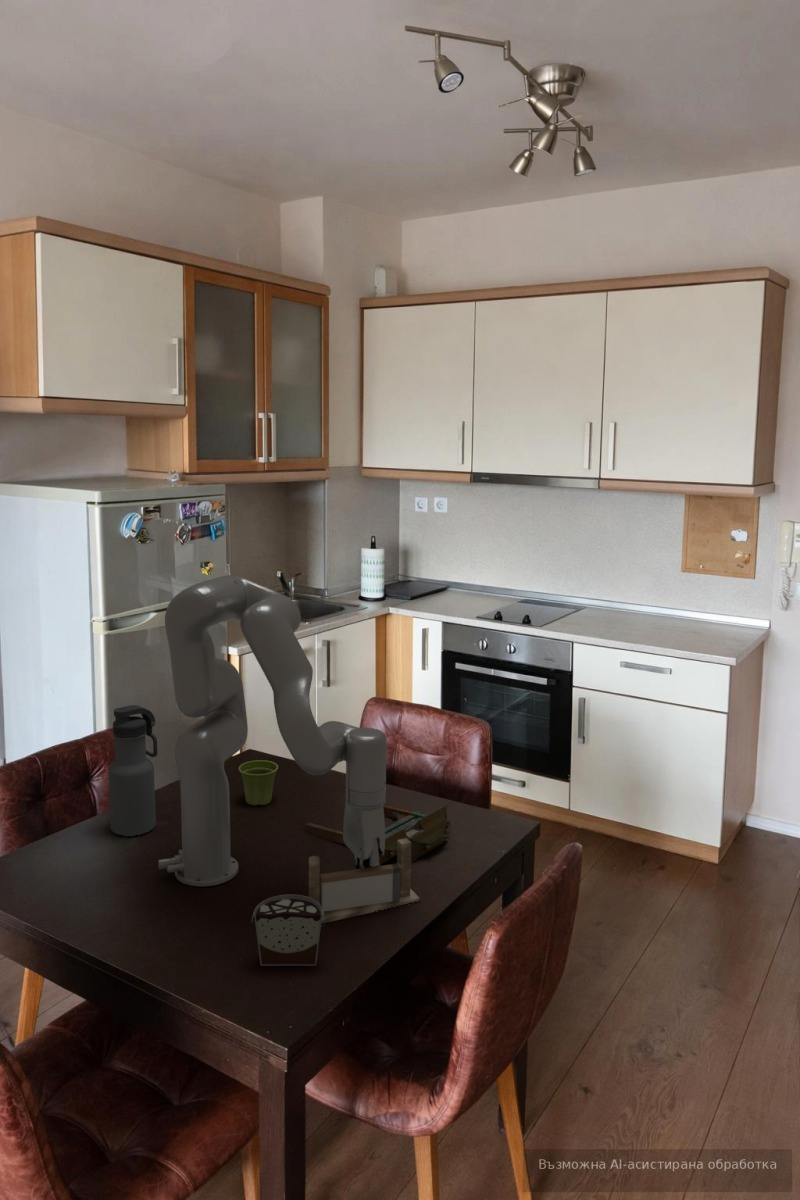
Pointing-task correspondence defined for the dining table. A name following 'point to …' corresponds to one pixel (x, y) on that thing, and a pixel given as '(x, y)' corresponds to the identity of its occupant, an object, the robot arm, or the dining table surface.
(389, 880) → the panel
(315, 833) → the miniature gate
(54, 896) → the dining table surface
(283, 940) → the food container
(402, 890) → the gate frame
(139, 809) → the water bottle
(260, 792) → the plant pot
